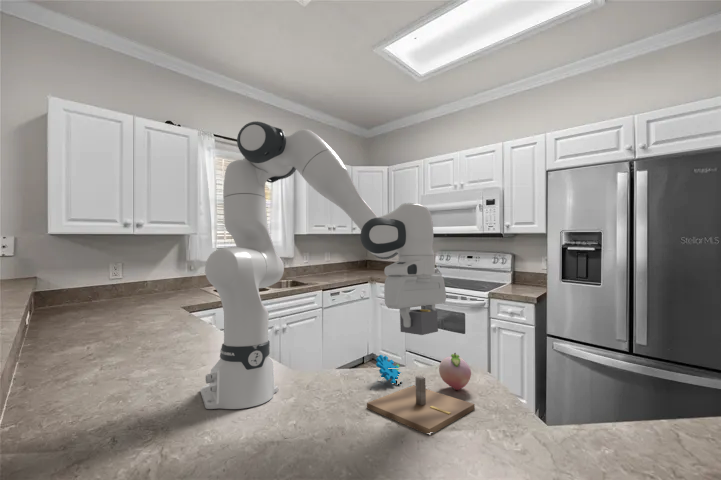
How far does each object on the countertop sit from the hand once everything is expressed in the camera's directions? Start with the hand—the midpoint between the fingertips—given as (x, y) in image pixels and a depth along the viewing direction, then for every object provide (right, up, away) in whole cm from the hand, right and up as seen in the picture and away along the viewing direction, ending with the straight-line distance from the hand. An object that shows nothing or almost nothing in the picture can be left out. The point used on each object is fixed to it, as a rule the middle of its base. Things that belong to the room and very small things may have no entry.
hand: (418, 325), depth 78 cm
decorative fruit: (+12, -21, +10) cm, 26 cm away
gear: (-5, -22, +17) cm, 28 cm away
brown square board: (0, -19, -2) cm, 20 cm away
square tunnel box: (0, -2, 0) cm, 2 cm away
